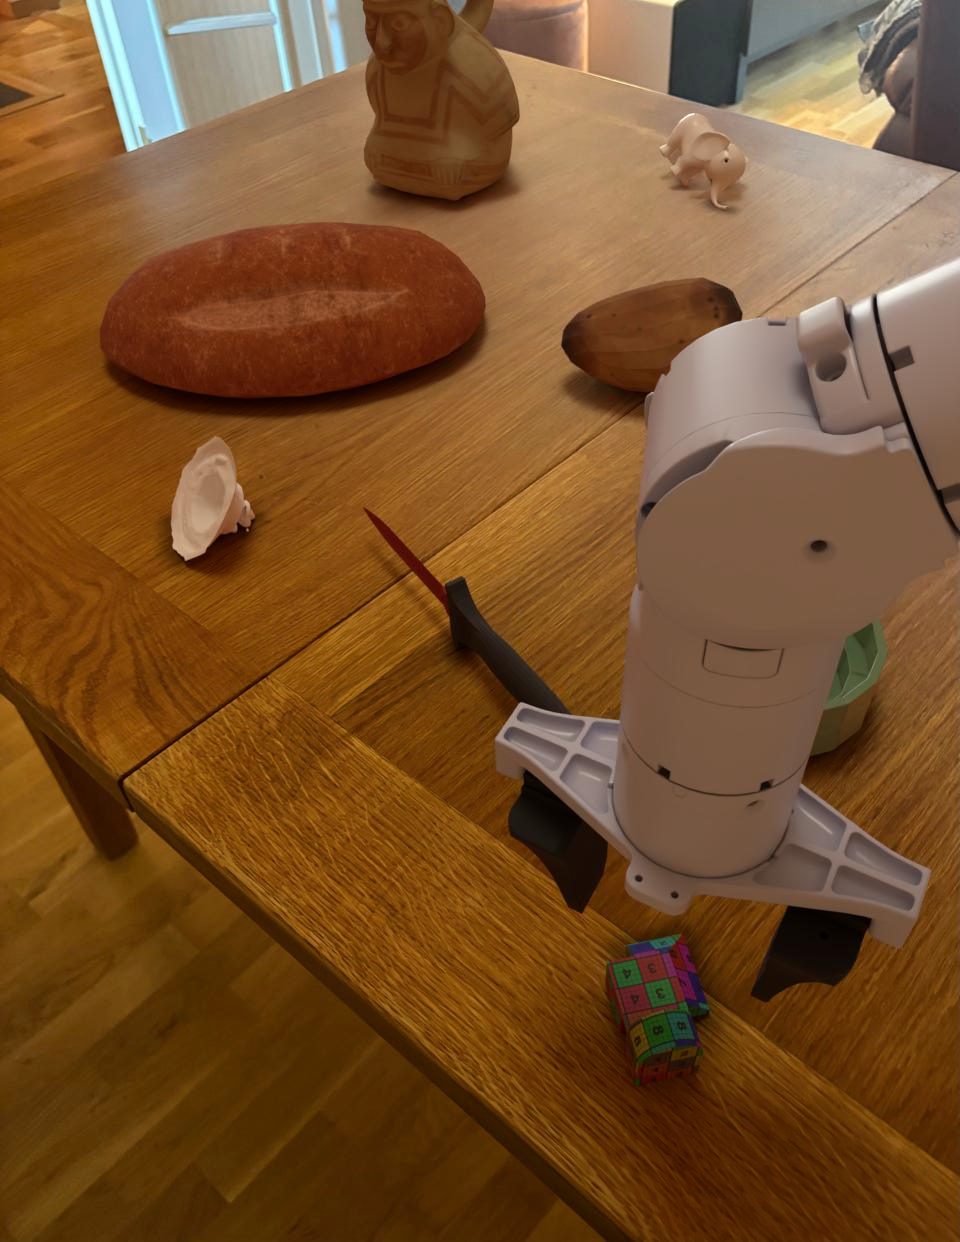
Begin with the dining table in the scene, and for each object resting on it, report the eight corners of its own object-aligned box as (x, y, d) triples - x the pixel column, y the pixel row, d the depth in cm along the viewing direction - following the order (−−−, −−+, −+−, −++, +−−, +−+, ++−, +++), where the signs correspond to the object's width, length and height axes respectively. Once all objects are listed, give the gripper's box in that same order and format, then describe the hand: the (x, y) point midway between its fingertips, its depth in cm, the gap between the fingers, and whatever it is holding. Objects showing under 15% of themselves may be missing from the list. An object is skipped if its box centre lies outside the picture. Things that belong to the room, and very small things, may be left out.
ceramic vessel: (327, 197, 106) (284, -93, 88) (433, 130, 117) (413, -140, 99) (467, 231, 99) (451, -75, 81) (564, 156, 110) (569, -127, 92)
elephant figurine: (687, 211, 98) (743, 164, 95) (638, 125, 103) (690, 77, 99) (721, 240, 104) (775, 197, 101) (674, 157, 108) (724, 113, 105)
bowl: (889, 656, 59) (909, 600, 56) (833, 797, 53) (852, 743, 50) (708, 594, 63) (717, 540, 60) (635, 718, 57) (641, 665, 54)
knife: (592, 771, 55) (596, 712, 51) (570, 784, 54) (572, 725, 50) (376, 531, 69) (367, 472, 65) (357, 540, 68) (347, 480, 65)
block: (727, 1065, 44) (738, 1033, 41) (635, 1086, 43) (640, 1054, 41) (681, 937, 48) (689, 900, 45) (597, 954, 47) (599, 918, 45)
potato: (580, 428, 81) (563, 335, 83) (752, 388, 79) (731, 293, 80) (566, 395, 74) (548, 293, 75) (756, 349, 71) (733, 245, 73)
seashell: (246, 577, 72) (275, 545, 65) (168, 573, 70) (190, 539, 63) (245, 469, 74) (273, 426, 66) (169, 461, 71) (189, 416, 64)
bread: (506, 389, 80) (503, 283, 74) (91, 437, 78) (51, 332, 71) (468, 255, 96) (463, 158, 89) (121, 292, 93) (91, 195, 87)
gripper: (440, 721, 31) (463, 933, 41) (934, 933, 26) (825, 1119, 36) (546, 577, 35) (544, 802, 45) (990, 735, 30) (879, 951, 40)
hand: (673, 932), depth 41 cm, fingers open, 7 cm apart
